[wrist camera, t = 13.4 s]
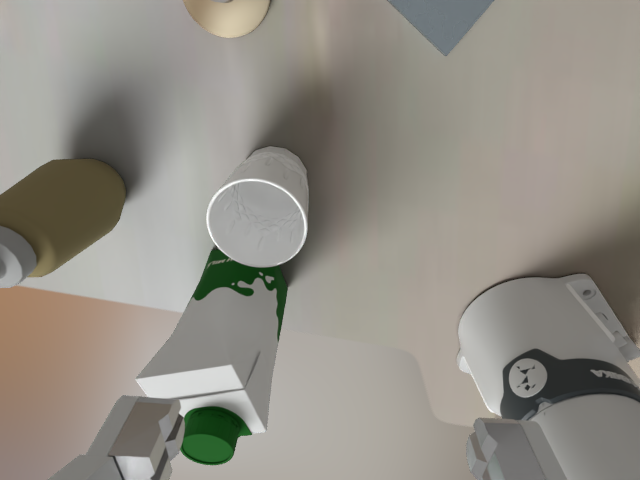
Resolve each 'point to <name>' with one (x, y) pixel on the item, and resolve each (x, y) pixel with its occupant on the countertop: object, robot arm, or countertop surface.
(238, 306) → the milk carton
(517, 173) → the countertop surface
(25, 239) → the squeeze bottle
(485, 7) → the grey plate with knob
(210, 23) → the stand
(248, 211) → the white cup
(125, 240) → the countertop surface
